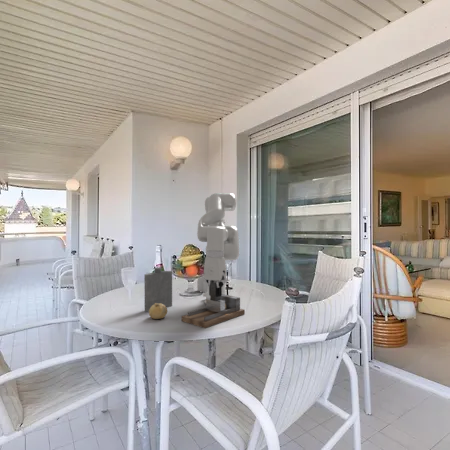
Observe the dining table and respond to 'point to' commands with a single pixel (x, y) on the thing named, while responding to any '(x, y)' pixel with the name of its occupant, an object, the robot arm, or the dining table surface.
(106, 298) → the dining table surface
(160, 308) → the onion
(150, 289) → the hip flask
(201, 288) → the tea bag
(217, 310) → the jaw
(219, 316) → the cracker base
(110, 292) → the dining table surface
